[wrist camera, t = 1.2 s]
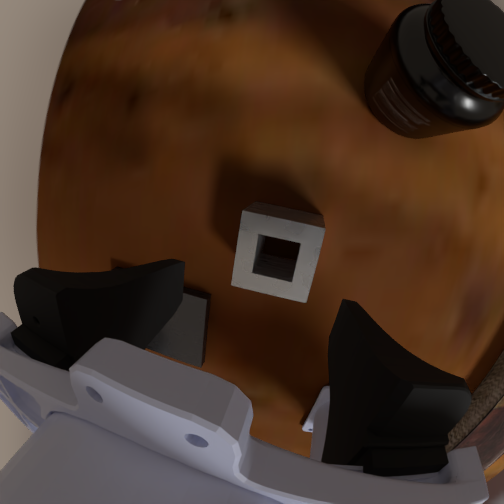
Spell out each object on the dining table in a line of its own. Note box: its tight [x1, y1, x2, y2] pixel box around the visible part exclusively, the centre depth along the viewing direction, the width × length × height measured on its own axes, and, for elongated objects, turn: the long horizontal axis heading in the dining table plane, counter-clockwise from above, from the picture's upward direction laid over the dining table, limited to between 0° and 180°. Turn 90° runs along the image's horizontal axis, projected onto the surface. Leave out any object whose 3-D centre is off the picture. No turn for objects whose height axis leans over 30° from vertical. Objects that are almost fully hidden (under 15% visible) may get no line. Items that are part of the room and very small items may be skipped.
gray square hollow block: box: [231, 201, 325, 303], centre depth 19 cm, size 5×5×4 cm
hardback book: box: [445, 350, 504, 471], centre depth 20 cm, size 29×19×5 cm, turn 168°
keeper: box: [111, 267, 211, 367], centre depth 24 cm, size 10×8×4 cm
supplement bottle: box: [364, 0, 504, 139], centre depth 10 cm, size 7×7×12 cm
